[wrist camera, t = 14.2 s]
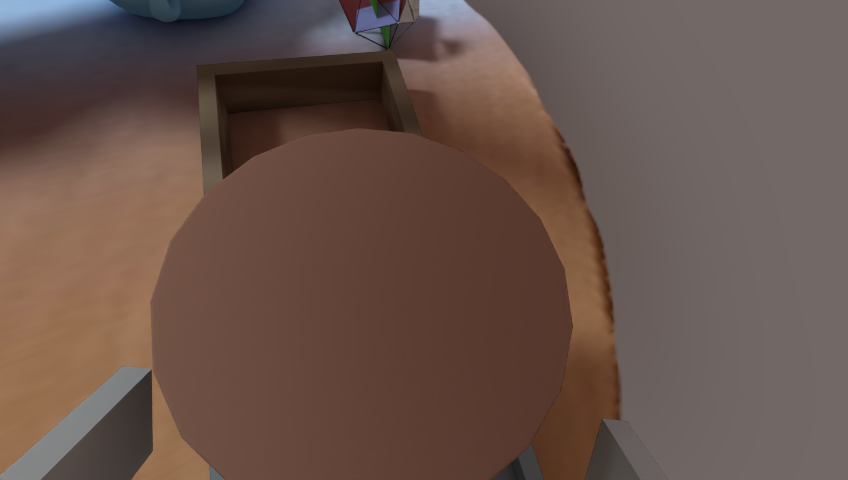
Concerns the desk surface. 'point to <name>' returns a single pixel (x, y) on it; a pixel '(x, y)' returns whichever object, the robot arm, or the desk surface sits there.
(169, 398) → the coffee jar
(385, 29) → the geometric puzzle
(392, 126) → the walnut collar
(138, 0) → the decorative pot
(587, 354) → the desk surface
